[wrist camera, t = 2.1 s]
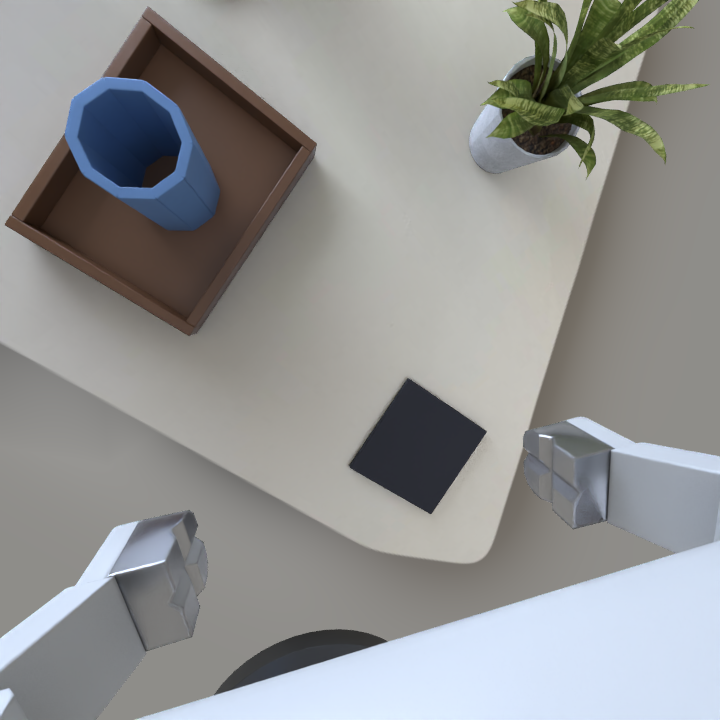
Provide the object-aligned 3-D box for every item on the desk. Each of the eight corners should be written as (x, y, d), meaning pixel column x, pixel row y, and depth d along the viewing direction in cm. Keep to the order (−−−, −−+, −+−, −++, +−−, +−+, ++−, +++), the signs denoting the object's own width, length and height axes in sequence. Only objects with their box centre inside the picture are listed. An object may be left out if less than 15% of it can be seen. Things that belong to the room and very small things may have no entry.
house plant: (454, 5, 31) (630, -305, 15) (584, 81, 34) (842, -110, 18) (399, 173, 32) (510, 47, 16) (530, 232, 35) (730, 174, 20)
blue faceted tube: (193, 247, 29) (154, 223, 21) (116, 196, 28) (40, 146, 19) (235, 184, 29) (214, 132, 21) (160, 129, 28) (104, 49, 19)
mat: (429, 511, 38) (431, 514, 37) (348, 465, 35) (349, 467, 35) (484, 430, 38) (487, 431, 37) (407, 377, 35) (409, 379, 35)
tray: (196, 333, 31) (189, 336, 28) (28, 231, 27) (3, 224, 25) (314, 156, 31) (317, 143, 28) (159, 31, 27) (147, 5, 25)
